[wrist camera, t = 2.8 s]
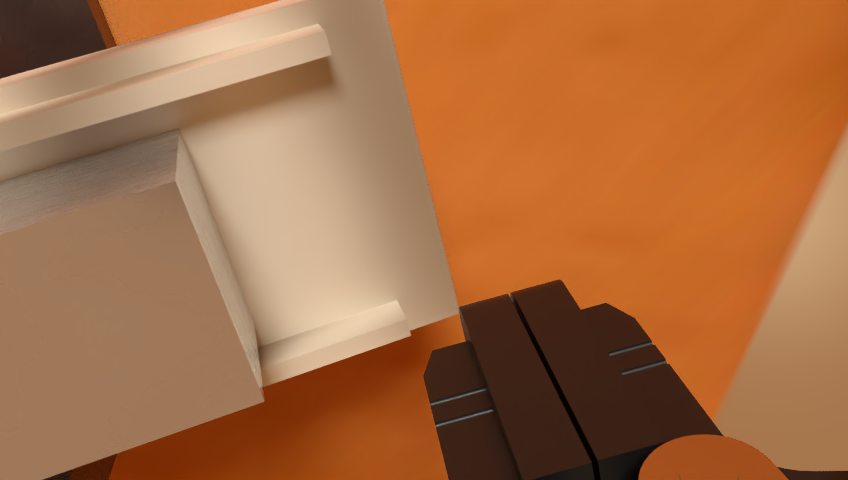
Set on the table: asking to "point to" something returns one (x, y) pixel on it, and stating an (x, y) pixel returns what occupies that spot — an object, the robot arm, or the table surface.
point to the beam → (271, 164)
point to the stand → (41, 46)
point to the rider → (115, 309)
